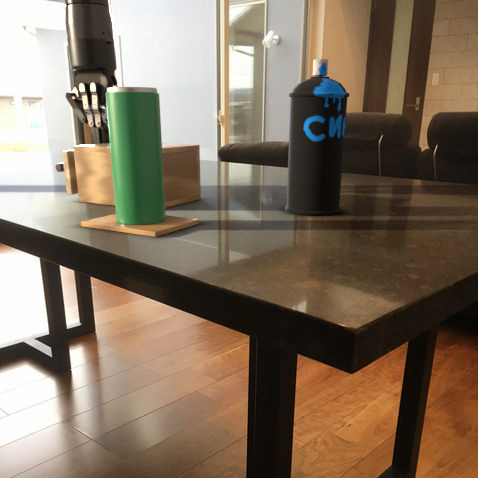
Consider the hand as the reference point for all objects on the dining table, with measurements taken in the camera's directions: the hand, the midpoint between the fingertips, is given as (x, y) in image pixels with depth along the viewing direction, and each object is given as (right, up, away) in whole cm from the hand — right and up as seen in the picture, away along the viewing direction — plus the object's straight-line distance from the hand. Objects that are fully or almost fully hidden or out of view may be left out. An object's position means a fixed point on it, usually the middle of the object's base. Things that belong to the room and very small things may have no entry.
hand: (101, 149), depth 92 cm
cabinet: (+8, -11, -7) cm, 15 cm away
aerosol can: (+35, -14, -15) cm, 41 cm away
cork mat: (+12, -18, -25) cm, 33 cm away
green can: (+12, -17, -25) cm, 33 cm away
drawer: (+3, -9, -4) cm, 10 cm away
